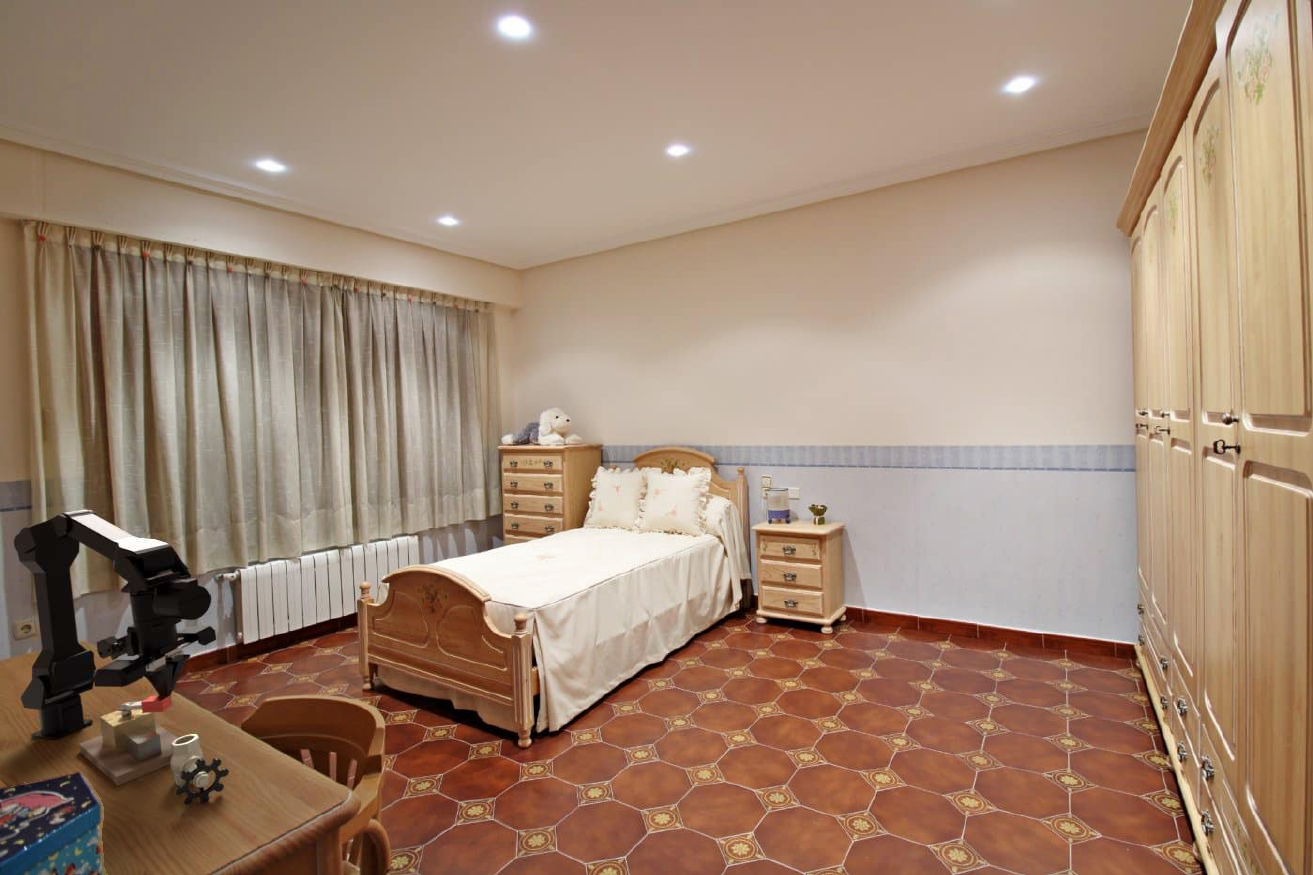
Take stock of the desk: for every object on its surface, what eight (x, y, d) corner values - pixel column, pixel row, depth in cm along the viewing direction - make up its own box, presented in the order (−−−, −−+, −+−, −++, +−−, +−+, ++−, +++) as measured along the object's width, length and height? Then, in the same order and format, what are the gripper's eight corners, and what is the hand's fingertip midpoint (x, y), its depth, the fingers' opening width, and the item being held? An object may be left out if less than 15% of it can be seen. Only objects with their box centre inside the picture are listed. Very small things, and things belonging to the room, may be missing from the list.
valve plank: (79, 751, 111) (78, 743, 111) (149, 725, 119) (148, 718, 119) (117, 785, 99) (116, 776, 99) (191, 754, 108) (190, 746, 107)
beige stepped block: (98, 740, 111) (94, 707, 111) (137, 726, 116) (134, 694, 115) (129, 766, 102) (125, 730, 102) (171, 749, 107) (167, 715, 106)
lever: (115, 715, 109) (114, 704, 109) (125, 709, 111) (124, 698, 111) (163, 711, 109) (161, 700, 109) (172, 705, 111) (171, 694, 111)
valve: (160, 785, 99) (178, 815, 91) (156, 744, 99) (173, 771, 91) (210, 765, 104) (231, 792, 96) (206, 727, 104) (226, 750, 96)
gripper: (161, 597, 121) (172, 674, 122) (58, 638, 102) (72, 728, 104) (213, 596, 119) (223, 675, 121) (117, 638, 101) (131, 729, 102)
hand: (165, 699), depth 112 cm, fingers closed
